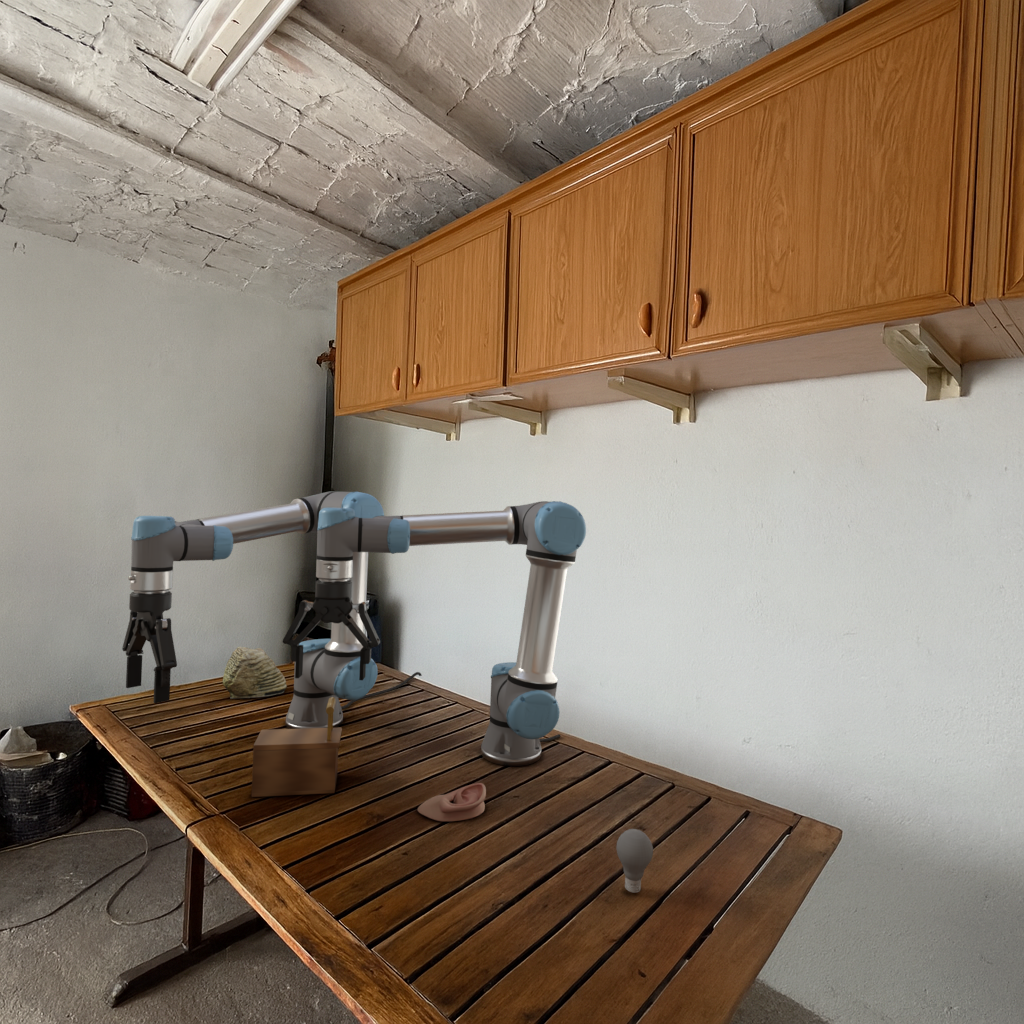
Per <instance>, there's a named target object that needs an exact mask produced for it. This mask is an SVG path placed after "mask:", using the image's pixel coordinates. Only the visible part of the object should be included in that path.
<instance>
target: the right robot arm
mask: <svg viewBox="0 0 1024 1024" xmlns="http://www.w3.org/2000/svg"><path fill="white" fill-rule="evenodd" d="M316 533H317V534H316V535H317V536H316V565H315V566H316V568H315V569H316V570H315V571H316V572H315V577H316V578H317V580H316V581H315V595H314V597H315V598H314V601H309V600H308V599H303V600H302V601H300V602H299V606H298V611H297V614H296V615H295V617H294V619H293V620H292V623H291V624H290V626H289V628H288V630H287V632H286V634H284V637H283V638H282V643H283V645H289V646H290V648H291V653H290V655H291V657H290V660H291V662H294V663H295V662H296V666H295V665H294V669H295V678H299V677H301V676H302V672H303V645H299V644H300V643H301V642H303V640H304V639H305V638H306V637H308V635H309V634H310V633H311V632H312V631H313V630H314V629H315V627H317V626H318V624H319V623H320V622H323V623H324V624H332V623H341V622H343V623H344V624H345V625H346V626H347V627H348V628H349V630H350V631H351V632H352V633H353V635H354V636H355V637H356V638H357V640H358V641H359V642H360V643H361V645H362V646H363V648H362V649H361V650H360V676H359V680H363V679H364V678H365V673H366V664H369V663H370V661H371V659H372V648H377V647H378V646H379V645H380V644H381V640H380V637H379V635H378V633H377V630H376V629H375V627H374V624H373V622H372V620H371V618H370V616H369V614H368V609H367V602H366V603H365V602H362V603H357V604H353V603H352V599H351V598H352V582H351V580H349V579H350V578H352V572H353V552H368V553H374V554H375V553H378V554H382V553H383V554H391V555H394V554H405V553H407V552H408V551H409V549H410V547H417V546H419V547H420V546H435V545H455V544H472V543H491V542H492V543H493V542H495V543H496V542H505V543H506V544H508V545H509V546H510V545H523V546H526V550H525V557H526V559H527V560H528V562H529V563H530V568H529V572H528V573H529V574H528V581H527V586H526V593H525V594H526V595H525V600H524V608H523V614H522V620H521V621H522V622H521V629H520V635H519V642H518V649H517V656H516V662H515V661H514V662H513V661H512V662H511V661H510V662H509V661H507V662H499V663H496V664H494V665H493V666H492V668H491V675H490V680H491V681H490V701H489V723H488V725H487V728H486V731H485V734H484V736H483V740H482V742H481V745H480V746H481V747H480V754H481V756H482V757H483V759H485V760H486V761H488V762H490V763H492V764H495V765H500V766H506V767H521V766H527V765H532V764H534V763H536V762H538V761H539V760H540V759H541V757H542V745H541V743H547V742H551V741H554V740H556V739H559V738H561V734H555V735H553V736H550V737H546V738H544V737H545V736H547V735H548V734H550V733H551V732H552V731H554V729H555V728H556V726H557V724H558V723H559V718H560V706H559V703H558V700H557V699H556V694H557V689H558V681H559V678H558V676H557V675H556V674H555V672H554V671H553V670H554V663H555V656H556V650H557V642H558V637H559V636H558V635H559V628H560V623H561V622H560V621H561V615H562V607H563V603H564V602H563V601H564V594H565V587H566V580H567V574H568V569H570V568H571V567H572V566H573V565H575V564H576V558H577V551H578V549H580V547H582V545H583V543H584V541H585V539H586V536H587V523H586V521H585V518H584V516H583V515H582V513H581V512H580V510H578V508H576V507H575V506H574V505H571V504H569V503H568V502H563V501H560V500H559V501H557V500H553V501H552V500H551V501H548V500H547V501H545V500H544V501H543V500H542V501H541V500H540V501H537V502H532V503H527V504H521V505H520V504H519V505H509V506H508V505H507V506H506V507H505V508H504V509H503V510H489V511H487V510H485V511H468V512H467V511H466V512H465V511H464V512H444V513H425V514H423V513H422V514H404V515H403V514H402V515H384V516H375V517H373V518H359V517H355V512H354V510H353V509H351V508H323V509H321V510H320V512H319V519H318V528H317V532H316ZM357 549H358V551H357ZM311 609H313V611H314V612H315V614H316V615H315V616H314V617H313V618H312V619H311V621H310V622H309V623H308V624H307V626H305V627H304V629H303V630H302V631H300V632H299V634H298V635H297V636H296V637H295V638H294V636H295V635H296V633H297V631H298V629H299V627H300V625H301V623H302V622H303V620H304V618H305V617H306V615H307V612H309V611H310V610H311ZM353 609H355V610H356V613H359V616H360V618H361V621H362V623H363V625H364V627H365V632H366V633H367V635H368V636H367V635H366V633H365V634H364V633H363V632H362V630H361V629H360V628H359V627H358V625H357V624H356V623H355V622H354V620H353V618H352V617H351V616H350V614H349V613H350V612H351V611H352V610H353Z"/></svg>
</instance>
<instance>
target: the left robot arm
mask: <svg viewBox="0 0 1024 1024" xmlns="http://www.w3.org/2000/svg"><path fill="white" fill-rule="evenodd" d="M323 508H351V509H353V510H354V512H355V517H359V518H373V517H375V516H385V511H384V509H383V506H382V504H381V502H380V501H379V500H378V498H376V497H375V496H374V495H372V494H370V493H367V492H361V491H338V490H333V491H326V492H322V493H317V494H313V495H309V496H304V497H299V498H294V499H292V500H291V502H290V503H286V504H280V505H274V506H268V507H267V506H266V507H261V508H256V509H255V508H254V509H249V510H244V511H237V512H230V513H226V514H219V515H213V516H206V517H201V518H197V519H189V520H183V521H176V520H175V518H174V517H173V516H168V515H139V516H137V517H135V518H134V520H133V524H132V531H131V537H130V538H131V566H130V575H129V576H128V581H130V585H129V588H130V590H131V591H132V592H130V594H129V605H128V610H130V612H129V621H128V625H127V628H126V633H125V637H124V640H123V644H122V647H121V649H122V651H123V652H125V656H126V672H125V673H126V675H125V688H126V689H131V688H137V687H141V686H142V674H143V654H144V650H143V648H144V646H145V644H146V642H149V644H150V647H151V651H152V655H153V659H154V662H155V665H156V666H155V667H154V668H153V672H154V681H153V685H154V686H153V702H152V703H154V704H159V703H163V702H168V701H170V697H171V670H172V669H173V668H177V666H178V662H177V656H176V650H175V644H174V638H173V632H172V619H171V617H167V618H164V612H166V611H167V612H168V611H169V610H171V609H172V600H173V599H172V598H173V593H172V591H170V590H172V589H173V584H174V583H173V581H174V562H184V561H185V562H186V561H187V562H188V561H189V562H190V561H212V562H214V561H219V560H225V559H228V558H229V557H230V556H231V554H232V552H233V549H234V545H235V544H241V543H245V542H250V541H255V540H260V539H266V538H270V537H275V536H280V535H285V534H289V533H295V532H296V533H298V534H299V535H304V534H310V533H317V528H318V519H319V512H320V510H321V509H323ZM357 551H358V549H357ZM368 566H369V552H353V572H352V578H350V579H349V580H351V582H352V598H351V599H352V603H353V604H357V603H362V602H365V603H366V604H367V590H368V589H367V588H368V569H369V567H368ZM349 614H350V616H351V617H352V618H353V620H354V622H355V623H356V624H357V625H358V627H359V628H360V629H361V630H362V632H363V633H364V634H365V635H366V629H365V627H364V625H363V623H362V621H361V618H360V616H359V613H356V610H355V609H353V610H352V611H351V612H350V613H349ZM299 645H303V672H302V676H301V677H299V678H295V668H294V672H293V673H294V674H293V695H292V696H293V697H292V699H291V702H290V704H289V708H288V711H287V713H286V715H285V726H286V728H287V729H304V728H328V714H327V713H326V708H327V704H328V700H329V698H331V697H334V698H335V699H336V704H335V708H334V712H333V728H338V727H339V726H340V725H342V723H343V722H344V714H343V710H345V709H347V708H349V707H350V706H351V705H352V704H354V703H356V702H359V701H362V700H365V699H369V698H373V697H376V696H380V695H383V694H386V693H389V692H392V691H395V690H397V689H399V688H401V687H403V686H404V685H407V683H408V682H410V680H412V679H413V678H415V677H416V676H419V677H422V676H423V675H422V673H421V672H419V671H416V672H414V673H413V674H411V675H410V676H409V677H406V679H405V680H403V681H402V682H401V683H399V684H397V685H395V686H392V687H389V688H386V689H383V690H380V691H376V692H372V693H369V692H370V691H371V690H372V689H373V688H374V685H375V684H376V682H377V679H378V672H379V670H378V666H377V663H376V662H375V661H374V659H373V658H371V661H370V663H369V664H366V673H365V678H364V679H363V680H359V676H360V650H361V649H362V648H363V646H362V645H361V643H360V642H359V641H358V640H357V638H356V637H355V636H354V635H353V633H352V632H351V631H350V630H349V628H348V627H347V626H346V625H345V624H344V623H343V622H341V623H332V622H331V630H330V638H318V639H308V640H304V641H303V640H302V641H301V643H300V644H299ZM295 666H296V662H294V667H295ZM340 699H341V700H347V701H349V702H347V703H346V704H344V705H341V702H340Z"/></svg>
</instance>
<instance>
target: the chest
mask: <svg viewBox="0 0 1024 1024" xmlns="http://www.w3.org/2000/svg"><path fill="white" fill-rule="evenodd" d="M338 764H339V748H318V749H289V750H260V751H252V773H251V775H252V777H251V798H259V797H261V798H262V797H279V796H281V797H282V796H300V795H301V796H303V795H320V794H321V795H323V794H335V792H336V785H337V780H338V769H339V767H338V766H339V765H338Z"/></svg>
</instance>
